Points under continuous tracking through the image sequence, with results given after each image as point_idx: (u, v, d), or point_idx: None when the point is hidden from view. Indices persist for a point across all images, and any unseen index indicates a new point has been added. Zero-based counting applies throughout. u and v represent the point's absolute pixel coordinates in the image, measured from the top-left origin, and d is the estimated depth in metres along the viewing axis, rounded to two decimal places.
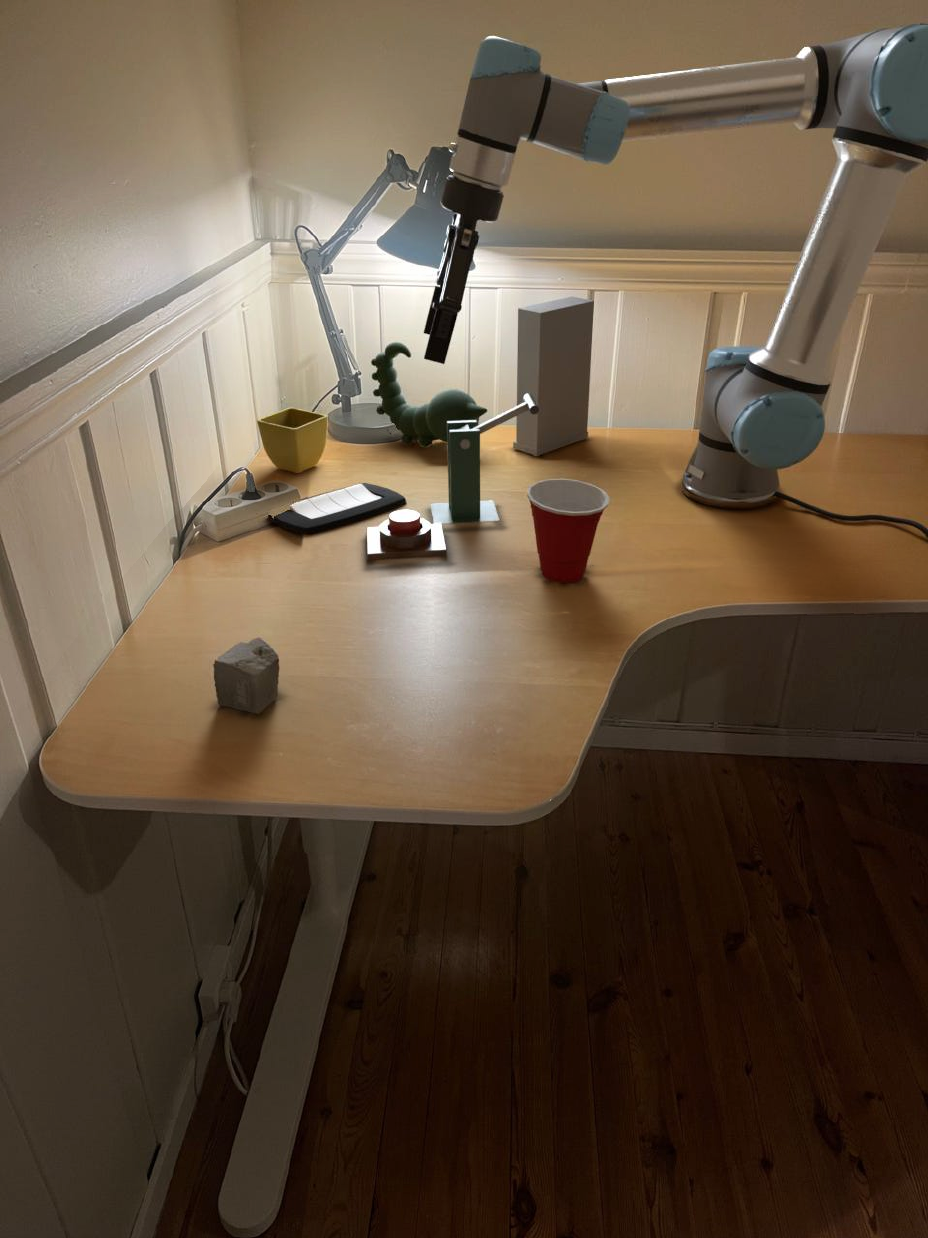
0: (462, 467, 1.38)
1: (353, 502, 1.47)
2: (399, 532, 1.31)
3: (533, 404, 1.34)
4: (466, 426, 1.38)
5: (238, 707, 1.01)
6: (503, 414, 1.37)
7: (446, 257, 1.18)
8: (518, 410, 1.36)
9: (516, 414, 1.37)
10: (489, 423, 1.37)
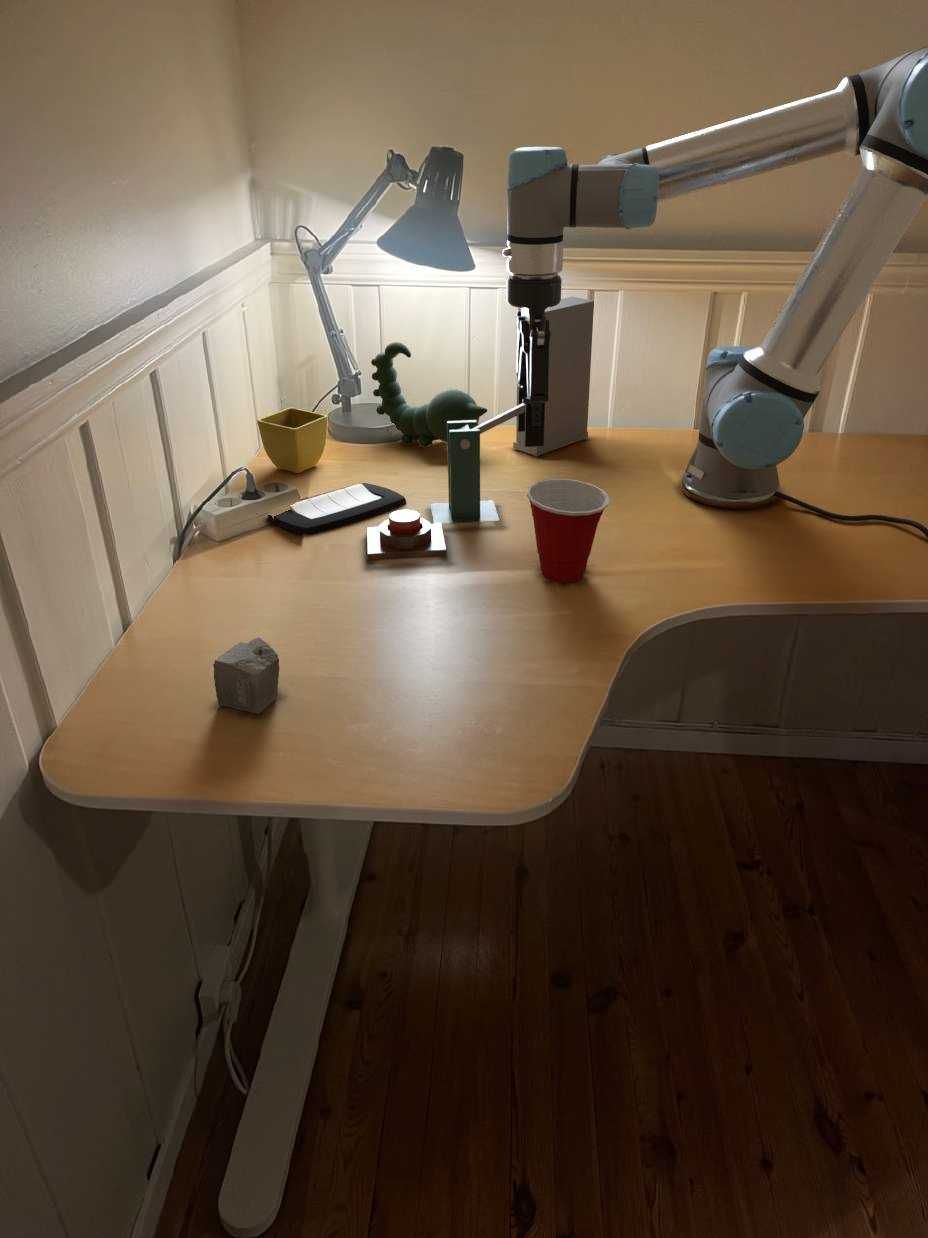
0: (462, 467, 1.38)
1: (353, 502, 1.47)
2: (399, 532, 1.31)
3: None
4: (466, 426, 1.38)
5: (238, 707, 1.01)
6: (503, 414, 1.37)
7: (524, 351, 1.30)
8: (518, 410, 1.36)
9: (516, 414, 1.37)
10: (489, 423, 1.37)
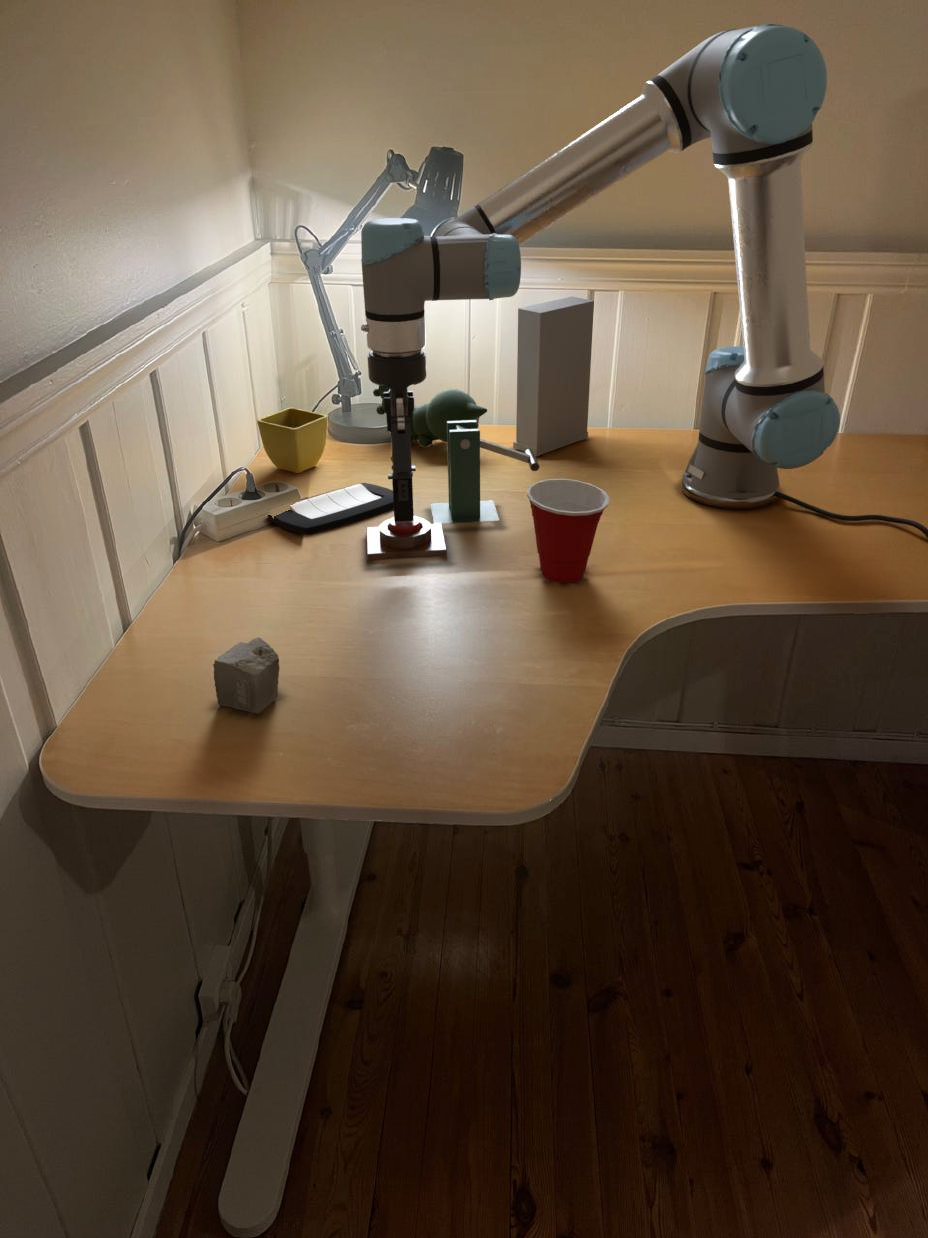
0: (462, 467, 1.38)
1: (353, 502, 1.47)
2: None
3: (537, 462, 1.39)
4: None
5: (238, 707, 1.01)
6: (506, 448, 1.40)
7: None
8: (519, 456, 1.40)
9: (515, 457, 1.40)
10: (491, 445, 1.39)
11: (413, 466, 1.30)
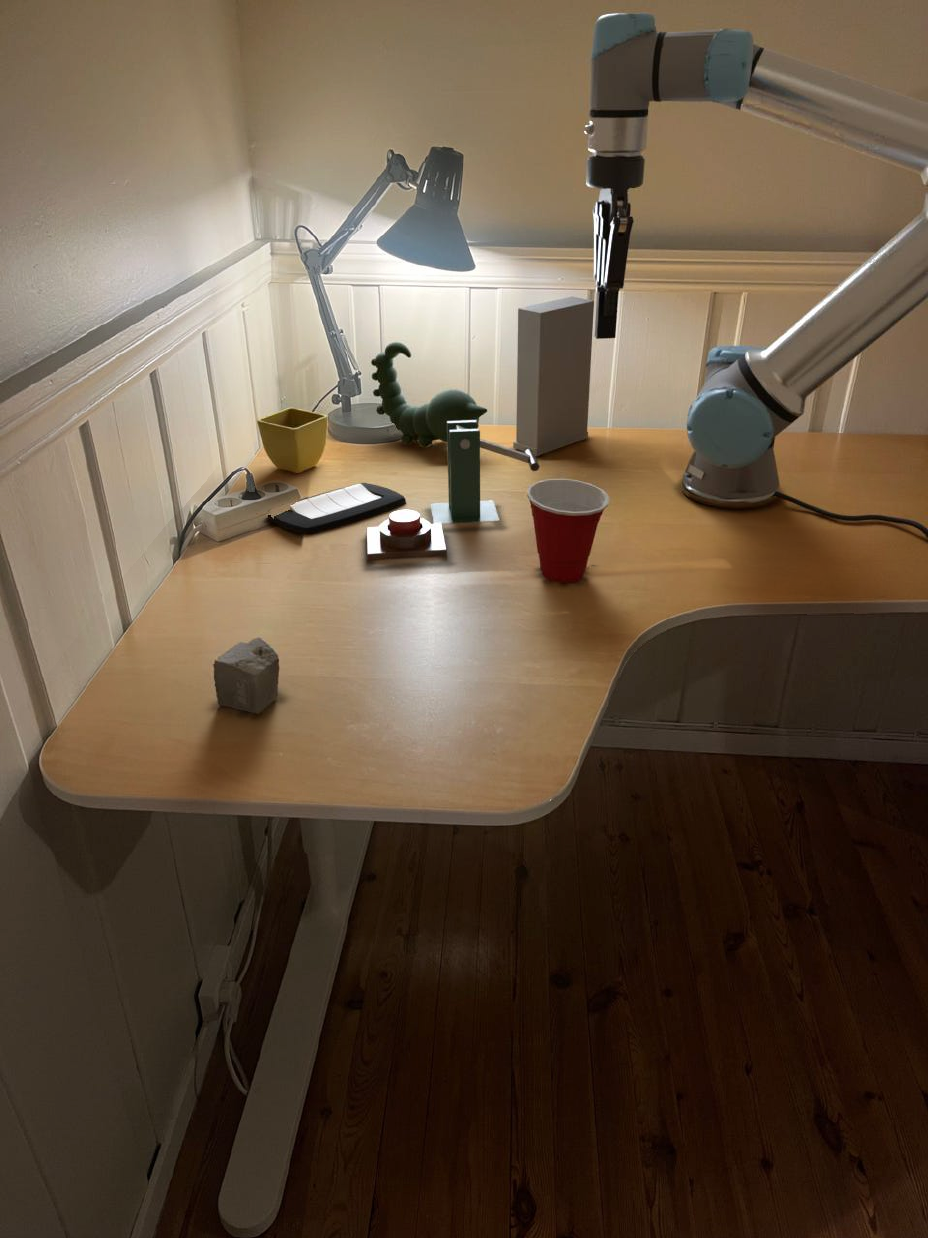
0: (462, 467, 1.38)
1: (353, 502, 1.47)
2: (399, 532, 1.31)
3: (537, 462, 1.39)
4: None
5: (238, 707, 1.01)
6: (506, 448, 1.40)
7: (602, 237, 1.27)
8: (519, 456, 1.40)
9: (515, 457, 1.40)
10: (491, 445, 1.39)
11: None
